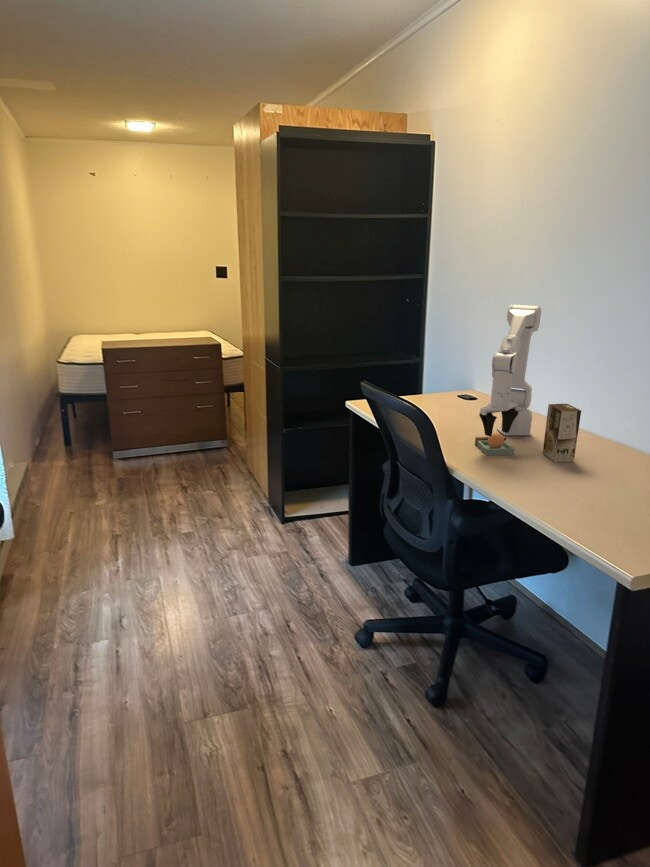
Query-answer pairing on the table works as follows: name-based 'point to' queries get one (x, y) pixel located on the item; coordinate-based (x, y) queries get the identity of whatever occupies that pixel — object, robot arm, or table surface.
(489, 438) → the ball
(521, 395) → the robot arm
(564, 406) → the coffee box
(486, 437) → the rail
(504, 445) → the tray
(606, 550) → the table surface
